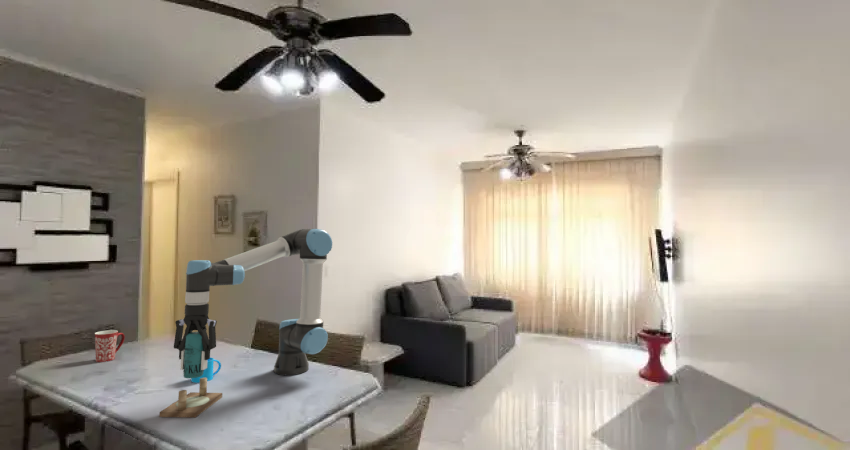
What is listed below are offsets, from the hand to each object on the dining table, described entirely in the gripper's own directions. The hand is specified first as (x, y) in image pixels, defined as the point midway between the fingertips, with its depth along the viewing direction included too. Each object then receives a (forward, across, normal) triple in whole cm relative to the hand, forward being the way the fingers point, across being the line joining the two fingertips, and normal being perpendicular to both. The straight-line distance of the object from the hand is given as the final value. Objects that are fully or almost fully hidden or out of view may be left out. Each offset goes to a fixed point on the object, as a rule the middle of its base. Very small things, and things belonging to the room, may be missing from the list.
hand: (194, 368), depth 145 cm
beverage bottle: (+4, 0, 0) cm, 4 cm away
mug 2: (+13, +11, -30) cm, 35 cm away
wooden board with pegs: (+13, 0, 0) cm, 13 cm away
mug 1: (+13, +72, -55) cm, 92 cm away
